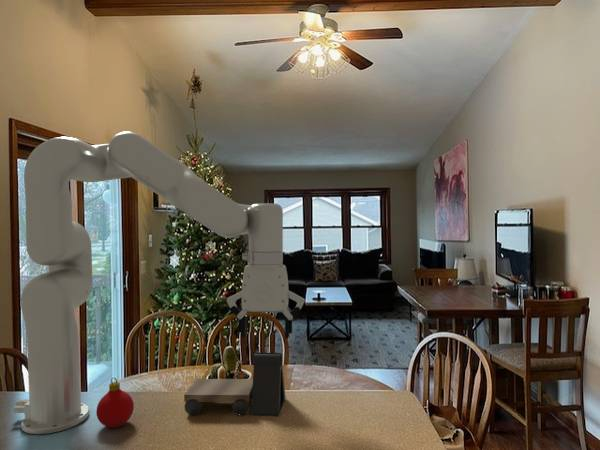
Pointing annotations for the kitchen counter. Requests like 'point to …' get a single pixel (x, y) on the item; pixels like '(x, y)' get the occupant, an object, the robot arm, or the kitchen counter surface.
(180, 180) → the robot arm
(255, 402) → the phone stand
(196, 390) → the trolley
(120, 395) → the christmas ornament
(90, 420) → the kitchen counter surface
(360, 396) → the kitchen counter surface
